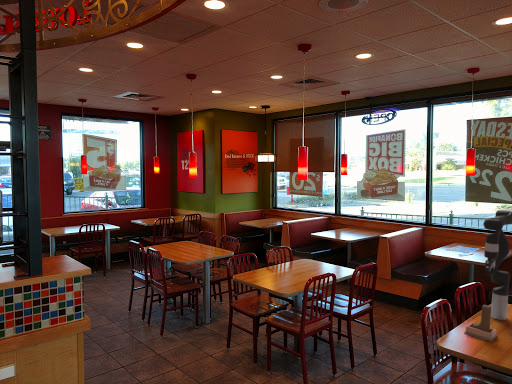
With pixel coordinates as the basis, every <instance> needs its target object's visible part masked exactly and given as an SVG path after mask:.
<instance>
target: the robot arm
mask: <svg viewBox="0 0 512 384" xmlns="http://www.w3.org/2000/svg"><path fill="white" fill-rule="evenodd" d="M506 225H512V210H511V211H510V210H501V209H500V210H499V209H498V210H496V211H495V215H494V217H487V218H485V220H484V221H483V227H484V229H486V230H489V231H494V232H492V233H490V232H489V233H486V235H485V245H484V251H483V252H484V253H483V254H484V255H483V256H484V257H485V258H487V259H486V260H485V264H484V270H485V277H487V278H489V277H490V282H491V283H493V284H495V285H496V284H497V285H502V286H498V287H497V286H496V287H494V288H493V289H492V296H491V297H492V298H491V318H493V319H495V320H500V321H506V320H507V314H508V303H509V302H508V301H509V287H510V280H511V274H510V272H509V271H503V270H498V268H499V266H500V265H501V264H502V262H503V261H504V260H505V259H506V258H507V257H508V255H509V254H510V248H511V247H510V245H511V244H510V241H509V239H508V237H507V235H505V232H504V230H503V227H504V226H506Z"/></svg>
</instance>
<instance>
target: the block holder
mask: <svg viewBox="0 0 512 384" xmlns="http://www.w3.org/2000/svg"><path fill="white" fill-rule="evenodd" d="M473 324H474V322H469V323H467V325H466V326H465V331H464V335H468V336H470V337H474V338H477V339H480V340H483V341H488V342H491V343H493V341H494V340H495V339H496V338H497V336H498V334H497V329H495V328H492V327H490V332H486V331H483V330H479V329H476V328H473V327H472V325H473Z"/></svg>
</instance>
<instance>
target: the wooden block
mask: <svg viewBox="0 0 512 384" xmlns="http://www.w3.org/2000/svg"><path fill="white" fill-rule="evenodd" d="M491 307H492V305H487V304H483V305H482V307H481V318H480V322H479V323H474V322H473V323H474V324H473V325H472V327H473V328H476V329H479V330H483V331H486V332H490V328H491V321H492V320H491V318H492V317H491Z"/></svg>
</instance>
